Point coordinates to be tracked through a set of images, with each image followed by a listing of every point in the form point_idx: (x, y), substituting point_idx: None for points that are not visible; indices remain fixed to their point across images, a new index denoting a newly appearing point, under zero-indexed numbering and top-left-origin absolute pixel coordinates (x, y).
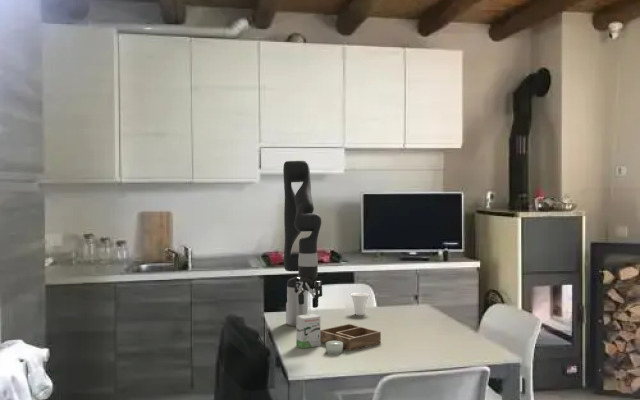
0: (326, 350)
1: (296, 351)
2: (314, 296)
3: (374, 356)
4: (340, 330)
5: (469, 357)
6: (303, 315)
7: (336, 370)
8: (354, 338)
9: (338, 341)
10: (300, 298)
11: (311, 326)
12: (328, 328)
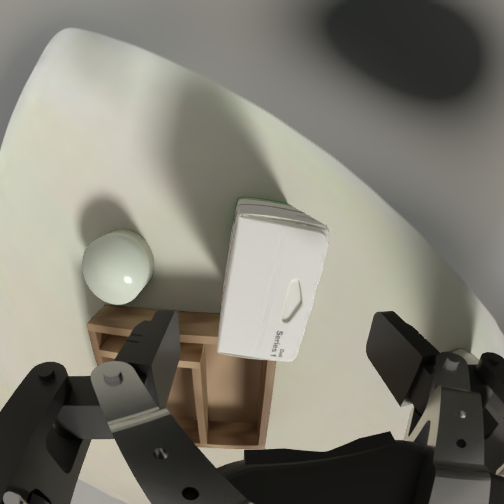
0: (130, 233)
1: (226, 152)
2: (91, 373)
3: (39, 309)
4: (260, 410)
5: (2, 399)
6: (305, 279)
7: (12, 139)
8: (92, 344)
9: (119, 298)
10: (401, 347)
11: (226, 266)
12: (271, 381)
